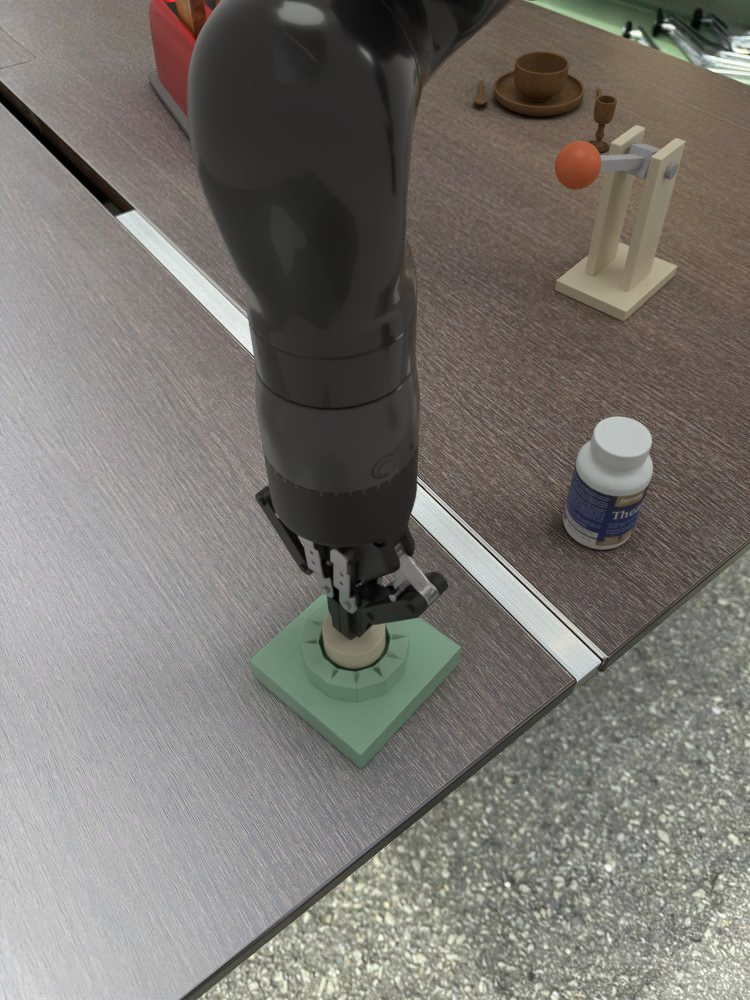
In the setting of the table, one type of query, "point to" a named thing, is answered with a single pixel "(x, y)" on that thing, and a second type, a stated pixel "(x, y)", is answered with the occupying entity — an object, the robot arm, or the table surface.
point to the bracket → (631, 269)
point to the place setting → (547, 91)
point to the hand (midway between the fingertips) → (352, 624)
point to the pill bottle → (609, 483)
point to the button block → (355, 680)
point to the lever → (599, 163)
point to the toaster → (175, 49)
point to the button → (353, 645)
